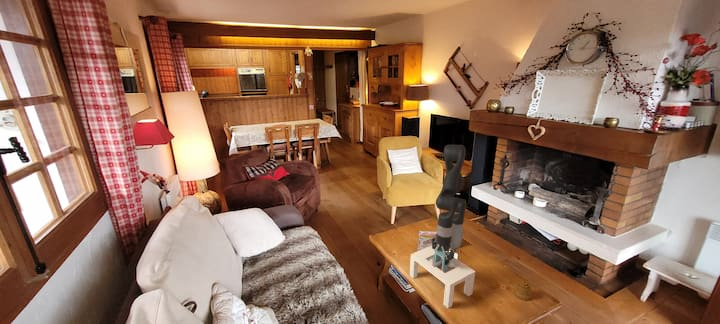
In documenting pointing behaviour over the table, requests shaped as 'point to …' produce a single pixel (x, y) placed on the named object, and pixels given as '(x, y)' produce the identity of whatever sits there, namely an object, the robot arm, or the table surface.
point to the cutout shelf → (447, 278)
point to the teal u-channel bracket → (438, 256)
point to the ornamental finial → (523, 290)
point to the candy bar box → (425, 239)
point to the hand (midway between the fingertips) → (441, 260)
